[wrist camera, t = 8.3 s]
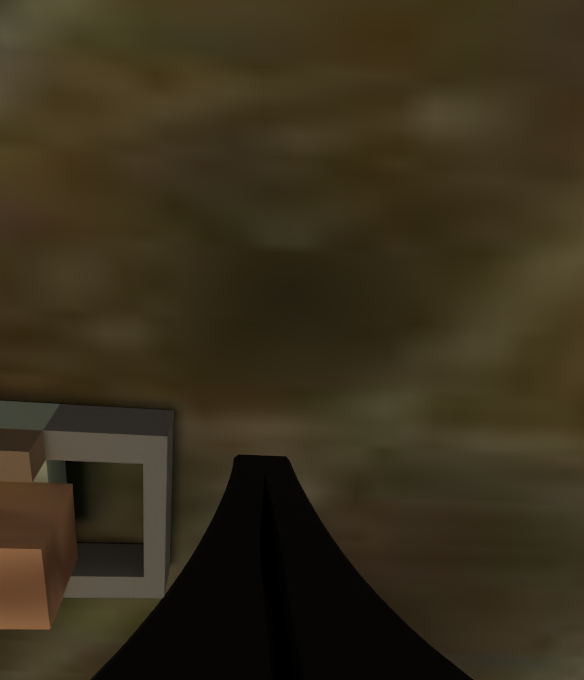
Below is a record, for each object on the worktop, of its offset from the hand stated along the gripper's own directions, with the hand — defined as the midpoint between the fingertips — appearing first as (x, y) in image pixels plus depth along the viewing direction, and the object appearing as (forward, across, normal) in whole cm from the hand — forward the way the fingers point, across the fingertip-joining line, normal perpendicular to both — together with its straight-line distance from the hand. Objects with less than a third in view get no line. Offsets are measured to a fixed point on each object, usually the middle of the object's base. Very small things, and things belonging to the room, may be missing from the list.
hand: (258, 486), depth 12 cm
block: (+7, +9, +9) cm, 15 cm away
